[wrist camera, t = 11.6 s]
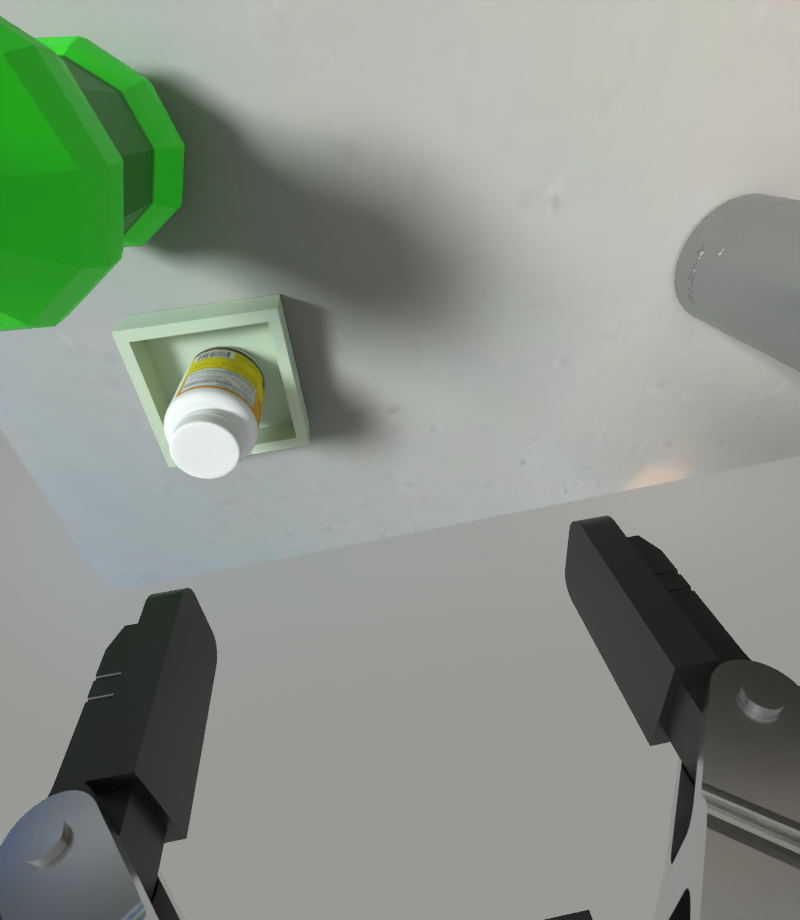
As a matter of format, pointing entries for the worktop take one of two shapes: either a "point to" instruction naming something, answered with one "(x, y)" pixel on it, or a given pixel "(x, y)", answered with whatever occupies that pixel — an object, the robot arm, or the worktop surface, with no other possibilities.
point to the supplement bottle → (215, 412)
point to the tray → (219, 324)
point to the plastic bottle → (75, 171)
